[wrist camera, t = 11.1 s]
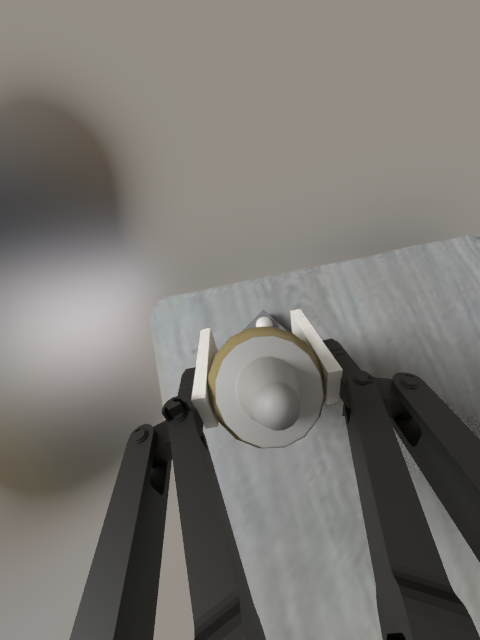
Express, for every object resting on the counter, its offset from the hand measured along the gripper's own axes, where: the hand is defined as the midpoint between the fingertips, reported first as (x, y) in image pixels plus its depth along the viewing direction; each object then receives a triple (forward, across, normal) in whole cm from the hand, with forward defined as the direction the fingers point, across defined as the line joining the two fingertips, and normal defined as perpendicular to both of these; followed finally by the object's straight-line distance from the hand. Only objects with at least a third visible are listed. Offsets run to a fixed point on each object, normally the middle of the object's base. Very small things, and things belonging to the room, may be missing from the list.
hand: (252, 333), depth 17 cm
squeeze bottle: (+3, 0, -8) cm, 8 cm away
